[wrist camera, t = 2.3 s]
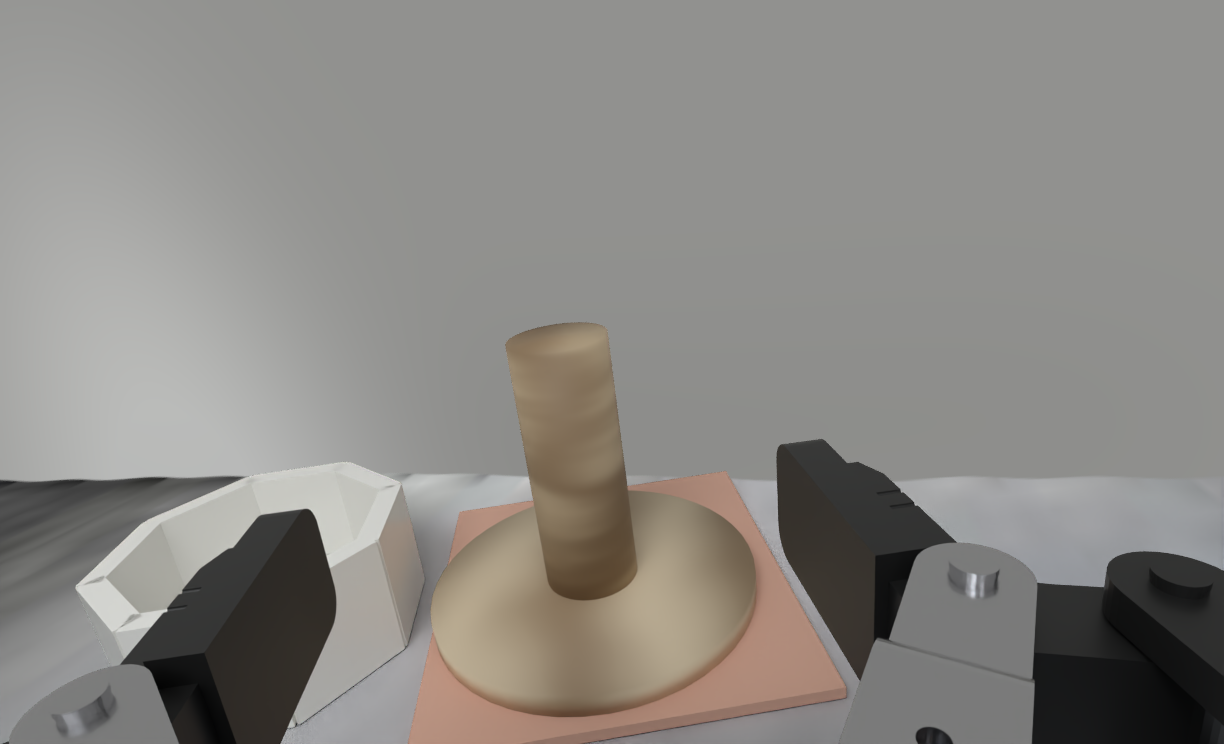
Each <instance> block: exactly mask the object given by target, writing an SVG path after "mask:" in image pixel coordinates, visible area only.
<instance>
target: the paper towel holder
mask: <svg viewBox="0 0 1224 744" xmlns="http://www.w3.org/2000/svg"><path fill="white" fill-rule="evenodd" d="M505 346H506V352H507V357H508V363H509V368H510V374H511V379H512V385H513V391H514V396H515V401H516V407H517V413H518V418H519V424H520V430H521V435H522V441H523V446H524V452H525V457H526V463H527V468H528V474H529V479H530V485H531V491H532V496H533V502H534V506H533V507H530V508H528V509H525V510H523V511H520V512H518V513H516V514H514V515H512V516H510V517H508V518H506V519H504V520H502V521H500V522H498V523H497V524H495V525H493V526H491V527H490V528H488V529H487V530H485V531H484V532H482V533H481V534H480V535H478V536H477V537H475V538H474V539H473V540H472V541H471V542H469V543H468V544H467V545H466V546H465V547H464V548H463V549H462V550H461V551H460V552H459V553H458V554H457V555H456V556H455V557H454V558H453V559H452V560H451V562H450V563H449V565H448V566H447V567H446V569H445V570H444V571H443V573H442V575H441V577H440V579H439V581H438V582H437V585H436V588H435V591H434V593H433V596H432V603H431V624H432V628H433V632H434V636H435V640H436V643H437V647H438V650H439V653H440V656H441V658H442V660H443V662H444V663H445V665H446V667H447V669H448V670H449V671H450V672H451V674H452V675H453V676H454V677H455V678H456V679H457V680H458V682H460V683H461V684H462V685H463V686H465V687H466V688H467V689H469V690H470V691H471V692H472V693H474V694H476V695H478V696H480V697H481V698H483V699H485V700H487V701H489V702H491V703H493V704H496V705H499V706H502V707H504V708H507V709H510V710H514V711H519V712H523V713H527V714H532V715H541V716H551V717H586V716H595V715H603V714H611V713H615V712H620V711H624V710H629V709H633V708H637V707H640V706H643V705H646V704H649V703H652V702H655V701H658V700H660V699H663V698H665V697H667V696H669V695H671V694H673V693H676V692H678V691H680V690H682V689H684V688H686V687H687V686H689V685H690V684H692V683H694V682H695V681H697V680H699V679H700V678H702V677H703V676H705V675H706V674H707V673H709V672H710V671H711V670H712V669H714V668H715V667H716V666H717V665H719V664H720V663H721V662H722V661H723V660H724V659H725V658H726V657H727V656H728V655H729V654H730V653H731V652H732V650H733V649H734V648H735V647H736V645H737V644H738V643H739V641H740V640H741V638H742V637H743V636H744V634H745V632H746V630H747V628H748V626H749V624H750V622H751V620H752V617H753V613H754V609H755V605H756V593H757V586H756V571H755V564H754V558H753V555H752V553H751V550H750V548H749V545H748V544H747V542H746V541H745V539H744V537H743V536H742V534H741V533H740V532H739V531H738V530H737V529H736V528H735V527H734V526H733V525H732V524H731V523H730V522H728V521H727V520H726V519H725V518H723V517H722V516H721V515H719V514H717V513H716V512H714V511H712V510H711V509H709V508H706V507H704V506H702V505H700V504H698V503H695V502H692V501H689V500H686V499H683V498H680V497H676V496H671V495H667V494H661V493H655V492H646V491H629V490H628V488H627V480H626V472H625V465H624V457H623V449H622V441H621V433H620V426H619V419H618V410H617V402H616V394H615V386H614V379H613V372H612V363H611V355H610V348H609V339H608V332H607V329H606V328H605V327H604V326H602V325H599V324H594V323H580V322H578V323H562V324H554V325H549V326H543V327H539V328H535V329H531V330H528V331H525V332H522V333H520V334H517V335H515V336H514V337H512V338H510V339H509V340H508V341H507V342H506V344H505Z"/></svg>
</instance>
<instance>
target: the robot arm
mask: <svg viewBox="0 0 1224 744" xmlns="http://www.w3.org/2000/svg"><path fill="white" fill-rule="evenodd" d="M777 491H778V522H779V533H780V538H781V543H782V547H783V550H784V553H785V556H786V558H787V560H788V562H789V564H790V565H791V567H792V569H793V570H794V572H795V574H796V575H797V577H798V579H799V580H800V582H801V584H802V585H803V587H804V589H805V590H806V592H807V594H808V595H809V597H810V599H811V600H812V602H813V604H814V605H815V607H816V609H817V610H818V612H819V614H820V615H821V617H822V619H823V620H824V622H825V624H826V625H827V627H828V628H829V630H830V632H831V633H832V635H833V637H834V638H835V640H836V642H837V643H838V645H839V647H840V648H841V650H842V652H843V653H844V655H845V657H846V658H847V660H848V662H849V663H850V665H851V667H852V668H853V670H854V672H855V673H856V675H857V677H858V678H859V680H860V684H859V687H858V690H857V692H856V695H855V698H854V701H853V704H852V707H851V710H850V712H849V715H848V718H847V721H846V724H845V727H844V729H843V732H842V735H841V738H840V741H839V744H1224V571H1223V570H1221V569H1219V568H1217V567H1214V566H1212V565H1209V564H1207V563H1204V562H1201V561H1198V560H1195V559H1192V558H1188V557H1184V556H1180V555H1174V554H1169V553H1161V552H1145V551H1144V552H1131V553H1126V554H1122V555H1119V556H1117V557H1115V558H1114V559H1112V560H1111V561H1110V562H1109V564H1108V567H1107V572H1106V579H1105V586H1104V587H1088V586H1072V585H1055V584H1043V583H1037V580H1036V578H1035V576H1034V574H1033V573H1032V572H1031V570H1030V569H1029V568H1028V567H1027V566H1026V565H1024V564H1023V563H1022V562H1020V561H1019V560H1017V559H1016V558H1014V557H1012V556H1010V555H1008V554H1006V553H1004V552H1001V551H999V550H996V549H993V548H990V547H986V546H982V545H976V544H970V543H957V542H956V541H955V540H954V539H953V538H952V537H951V536H949V535H948V534H947V533H946V532H945V531H944V530H943V529H942V528H941V527H940V526H939V525H938V524H937V523H936V522H935V521H933V520H932V519H931V518H930V517H929V516H928V515H927V514H926V513H925V512H924V511H923V510H922V509H921V508H920V507H919V506H915V505H914V502H913V501H912V500H911V499H910V498H909V497H908V496H907V495H906V494H905V493H904V492H903V493H901V491H900V489H899V488H898V487H897V486H896V485H895V484H894V483H893V482H892V481H891V480H889V478H888V477H886V476H885V475H884V474H883V473H881V472H879V471H876V470H874V469H872V468H870V467H868V466H865V465H863V464H861V463H859V462H854V463H846V462H845V461H844V460H843V459H842V457H841V456H839V454H838V453H836V451H835V450H833V448H832V447H831V446H830V445H829V444H828V443H827V442H826V441H824V440H823V439H818V440H811V441H804V442H796V443H789V444H782V445H780V446H779V447H778V450H777ZM336 605H337V604H336V591H335V586H334V582H333V579H332V575H331V571H330V567H329V564H328V560H327V556H326V553H325V549H324V545H323V542H322V538H321V534H320V531H319V527H318V523H317V520H316V518H315V516H314V514H313V512H312V511H311V510H309V509H299V510H292V511H285V512H277V513H270V514H263V515H260V516H258V517H257V518H256V520H255V521H254V522H253V523H252V525H251V526H250V527H249V528H248V530H247V531H246V532H245V533H244V535H243V536H242V537H241V538H240V540H239V541H238V542H237V544H236V545H235V546H234V547H233V548H228V549H227V550H225V551H224V552H223V553H221V554H220V555H218V556H217V557H215V558H214V559H213V560H211V561H210V562H208V563H207V564H206V565H204V566H203V567H201V568H200V569H199V570H198V571H197V573H196V574H195V575H194V576H193V577H192V579H191V580H190V581H189V582H188V583H187V585H186V586H185V587H184V588H183V589H182V594H178V595H177V597H176V598H175V599H174V600H173V601H172V603H171V604H170V605H169V606H168V607H167V612H164V613H162V615H161V616H160V617H159V618H158V619H157V621H156V622H155V623H154V624H153V625H152V627H151V628H150V629H149V630H148V631H147V633H146V634H145V635H144V636H143V637H142V639H141V640H140V641H139V642H138V643H137V645H136V646H135V647H134V648H133V649H132V651H131V652H130V653H129V654H128V655H127V656H126V658H125V659H124V660H123V661H122V662H121V664H120V665H117V666H111V667H108V668H104V669H100V670H97V671H95V672H92V673H89V674H87V675H84V676H82V677H79V678H77V679H75V680H73V681H71V682H69V683H67V684H65V685H64V686H62V687H60V688H58V689H57V690H55V691H53V692H52V693H51V694H49V695H48V696H46V697H45V698H43V699H42V700H41V701H39V702H38V703H37V704H35V705H34V706H33V707H32V708H31V709H30V710H29V711H28V712H27V713H26V714H25V715H24V716H23V717H22V718H21V719H20V720H19V721H18V723H17V724H16V726H15V727H14V729H13V731H12V733H11V735H10V739H9V742H6V743H3V744H280V743H281V741H282V739H283V737H284V734H285V732H286V730H287V728H288V726H289V723H290V721H291V719H292V717H293V714H294V712H295V710H296V708H297V705H298V703H299V701H300V699H301V697H302V694H303V692H304V690H305V688H306V685H307V683H308V681H309V679H310V677H311V674H312V672H313V670H314V668H315V665H316V663H317V661H318V659H319V657H320V654H321V652H322V650H323V648H324V645H325V643H326V641H327V639H328V636H329V634H330V632H331V630H332V628H333V625H334V621H335V617H336Z"/></svg>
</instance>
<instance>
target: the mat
mask: <svg viewBox="0 0 1224 744" xmlns="http://www.w3.org/2000/svg"><path fill="white" fill-rule="evenodd" d="M627 488H628V490H629V491H646V492H655V493H661V494H667V495H671V496H676V497H680V498H683V499H686V500H689V501H692V502H695V503H698V504H700V505H702V506H704V507H706V508H709V509H711V510H712V511H714V512H716V513H717V514H719V515H721V516H722V517H723V518H725V519H726V520H727V521H728V522H730V523H731V524H732V525H733V526H734V527H735V528H736V529H737V530H738V531H739V532H740V533H741V534H742V536H743V537H744V539H745V541H746V542H747V544H748V545H749V548H750V550H751V553H752V555H753V558H754V564H755V571H756V586H757V593H756V605H755V609H754V613H753V617H752V620H751V622H750V624H749V626H748V628H747V630H746V632H745V634H744V636H743V637H742V638H741V640H740V641H739V643H738V644H737V645H736V647H735V648H734V649H733V650H732V652H731V653H730V654H729V655H728V656H727V657H726V658H725V659H724V660H723V661H722V662H721V663H720V664H719V665H717V666H716V667H715V668H714V669H712V670H711V671H710V672H709V673H707V674H706V675H705V676H703V677H702V678H700V679H699V680H697V681H695V682H694V683H692V684H690V685H689V686H687V687H686V688H684V689H682V690H680V691H678V692H676V693H673V694H671V695H669V696H667V697H665V698H663V699H660V700H658V701H655V702H652V703H649V704H646V705H643V706H640V707H637V708H633V709H629V710H624V711H620V712H615V713H611V714H603V715H595V716H586V717H551V716H541V715H532V714H527V713H523V712H519V711H514V710H510V709H507V708H504V707H502V706H499V705H496V704H493V703H491V702H489V701H487V700H485V699H483V698H481V697H480V696H478V695H476V694H474V693H472V692H471V691H470V690H469V689H467V688H466V687H465V686H463V685H462V684H461V683H460V682H458V680H457V679H456V678H455V677H454V676H453V675H452V674H451V672H450V671H449V670H448V669H447V667H446V665H445V663H444V662H443V660H442V658H441V656H440V653H439V650H438V647H437V643H436V640H435V636H434V632H433V633H432V638H431V642H430V646H429V651H428V655H427V660H426V664H425V669H424V673H423V678H422V682H421V687H420V691H419V696H418V700H417V704H416V709H415V713H414V718H413V722H412V727H411V731H410V736H409V740H408V744H582V743H588V742H594V741H600V740H606V739H611V738H617V737H623V736H629V735H634V734H640V733H646V732H652V731H658V730H663V729H669V728H675V727H681V726H687V725H692V724H698V723H704V722H710V721H716V720H721V719H727V718H733V717H739V716H744V715H750V714H756V713H762V712H768V711H773V710H779V709H785V708H791V707H797V706H802V705H808V704H814V703H820V702H826V701H831V700H837V699H843V698H846V686H845V684H844V682H843V680H842V678H841V677H840V675H839V673H838V671H837V670H836V668H835V666H834V664H833V662H832V661H831V659H830V657H829V655H828V653H827V652H826V650H825V648H824V646H823V644H822V643H821V641H820V639H819V637H818V635H817V634H816V632H815V630H814V628H813V626H812V625H811V623H810V621H809V619H808V617H807V616H806V614H805V612H804V610H803V609H802V607H801V605H800V603H799V601H798V600H797V598H796V596H795V594H794V592H793V591H792V589H791V587H790V585H789V583H788V582H787V580H786V578H785V576H784V574H783V573H782V571H781V569H780V567H779V565H778V564H777V562H776V560H775V558H774V557H773V555H772V553H771V551H770V549H769V548H768V546H767V544H766V542H765V540H764V539H763V537H762V535H761V533H760V531H759V530H758V528H757V526H756V524H755V522H754V521H753V519H752V517H751V515H750V513H749V512H748V510H747V508H746V506H745V504H744V503H743V501H742V499H741V497H740V496H739V494H738V492H737V490H736V488H735V487H734V485H733V483H732V481H731V479H730V478H729V476H728V474H727V472H726V471H723V472H717V473H710V474H704V475H697V476H691V477H684V478H678V479H671V480H664V481H658V482H651V483H645V484H638V485H632V486H627ZM533 506H534V502H533V501H527V502H521V503H514V504H508V505H501V506H495V507H488V508H482V509H475V510H469V511H462V512H460V513H459V517H458V522H457V526H456V530H455V535H454V539H453V544H452V548H451V553H450V557H449V562H448V565H449V563H450V562H451V560H452V559H453V558H454V557H455V556H456V555H457V554H458V553H459V552H460V551H461V550H462V549H463V548H464V547H465V546H466V545H467V544H468V543H469V542H471V541H472V540H473V539H474V538H475V537H477V536H478V535H480V534H481V533H482V532H484V531H485V530H487V529H488V528H490V527H491V526H493V525H495V524H497V523H498V522H500V521H502V520H504V519H506V518H508V517H510V516H512V515H514V514H516V513H518V512H520V511H523V510H525V509H528V508H530V507H533Z"/></svg>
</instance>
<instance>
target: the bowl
mask: <svg viewBox="0 0 1224 744" xmlns="http://www.w3.org/2000/svg"><path fill="white" fill-rule="evenodd" d="M299 509H309V510H311V511H312V512H313V514H314V516H315V518H316V520H317V523H318V527H319V531H320V534H321V538H322V542H323V545H324V549H325V553H326V556H327V560H328V564H329V567H330V571H331V575H332V579H333V582H334V586H335V591H336V604H337V605H336V617H335V621H334V625H333V628H332V630H331V632H330V634H329V636H328V639H327V641H326V643H325V645H324V648H323V650H322V652H321V654H320V657H319V659H318V661H317V663H316V665H315V668H314V670H313V672H312V674H311V677H310V679H309V681H308V683H307V685H306V688H305V690H304V692H303V694H302V697H301V699H300V701H299V703H298V705H297V708H296V710H295V712H294V714H293V717H292V719H291V721H290V723H289V726H288V728H292V727H295V725H296V723H298V724H299V725H300V724H301V723H303V722H304V721H306V720H307V719H308V718H310V717H311V716H313V715H314V714H315V713H317V712H318V711H319V710H321V709H322V708H324V707H325V706H326V705H328V704H329V703H330V702H332V701H333V700H335V699H336V698H337V697H339V696H340V695H342V694H343V693H344V692H346V691H347V690H348V689H350V688H351V687H353V686H354V685H355V684H357V683H358V682H359V681H361V680H362V679H364V678H365V677H366V676H368V675H369V674H371V673H372V672H373V671H375V670H376V669H377V668H379V667H380V666H382V665H383V664H384V663H386V662H387V661H389V660H390V659H391V658H393V657H394V656H395V655H397V654H398V653H400V652H401V651H402V650H404V649H405V646H407V645H408V641H409V637H410V634H411V630H412V626H413V622H414V619H415V615H416V611H417V608H418V604H419V600H420V596H421V593H422V589H423V585H424V581H425V576H424V572H423V568H422V564H421V560H420V556H419V552H418V548H417V544H416V540H415V536H414V532H413V528H412V524H411V520H410V516H409V512H408V508H407V504H406V500H405V496H404V492H403V488H402V484H401V482H398V481H396V480H393V479H391V478H388V477H386V476H383V475H381V474H378V473H375V472H373V471H371V470H368V469H365V468H363V467H360V466H358V465H355V464H353V463H350V462H347V463H346V462H339V463H333V464H326V465H319V466H313V467H306V468H299V469H292V470H286V471H279V472H273V473H265V474H258V475H252V476H251V477H246V478H244V479H242V480H239V481H237V482H235V483H232V484H230V485H228V486H225V487H223V488H221V489H218V490H216V491H214V492H211V493H209V494H207V495H204V496H202V497H200V498H197V499H195V500H193V501H190V502H188V503H186V504H184V505H181V506H179V507H177V508H174V509H172V510H170V511H167V512H165V513H163V514H160V515H158V516H156V517H153V518H151V519H149V520H146V522H144V523H142V524H141V525H140V526H139V527H137V528H136V529H135V530H134V531H133V532H132V533H131V534H130V535H129V536H128V537H127V538H126V539H125V540H124V541H123V542H122V543H121V544H120V545H119V546H117V547H116V548H115V549H114V550H113V551H112V552H111V553H110V554H109V555H108V556H107V557H106V558H105V559H104V560H103V561H102V562H101V563H100V564H99V565H98V566H96V567H95V568H94V569H93V570H92V571H91V572H90V573H89V574H88V575H87V576H86V577H85V578H84V579H83V580H82V581H81V582H80V583H79V584H78V585H76V588H75V589H76V591H77V593H78V596H79V598H80V600H81V602H82V604H83V607H84V609H85V611H86V613H87V616H88V618H89V620H90V622H91V624H92V627H93V629H94V631H95V633H96V635H97V638H98V640H99V642H100V644H101V647H102V649H103V651H104V653H105V655H106V658H107V660H108V662H109V664H110V667H111V666H117V665H120V664H121V662H122V661H123V660H124V659H125V658H126V656H127V655H128V654H129V653H130V652H131V651H132V649H133V648H134V647H135V646H136V645H137V643H138V642H139V641H140V640H141V639H142V637H143V636H144V635H145V634H146V633H147V631H148V630H149V629H150V628H151V627H152V625H153V624H154V623H155V622H156V621H157V619H158V618H159V617H160V616H161V615H162V613H164V612H167V607H168V606H169V605H170V604H171V603H172V601H173V600H174V599H175V598H176V597H177V595H178V594H182V589H183V588H184V587H185V586H186V585H187V583H188V582H189V581H190V580H191V579H192V577H193V576H194V575H195V574H196V573H197V571H198V570H199V569H200V568H201V567H203V566H204V565H206V564H207V563H208V562H210V561H211V560H213V559H214V558H215V557H217V556H218V555H220V554H221V553H223V552H224V551H225V550H227V549H228V548H233V547H234V546H235V545H236V544H237V542H238V541H239V540H240V538H241V537H242V536H243V535H244V533H245V532H246V531H247V530H248V528H249V527H250V526H251V525H252V523H253V522H254V521H255V520H256V518H257V517H258V516H260V515H263V514H270V513H277V512H285V511H292V510H299Z"/></svg>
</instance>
